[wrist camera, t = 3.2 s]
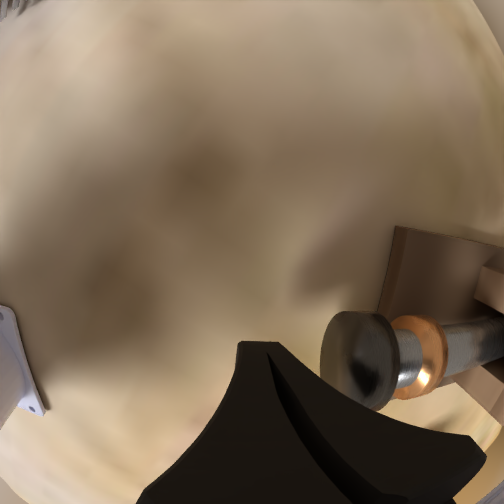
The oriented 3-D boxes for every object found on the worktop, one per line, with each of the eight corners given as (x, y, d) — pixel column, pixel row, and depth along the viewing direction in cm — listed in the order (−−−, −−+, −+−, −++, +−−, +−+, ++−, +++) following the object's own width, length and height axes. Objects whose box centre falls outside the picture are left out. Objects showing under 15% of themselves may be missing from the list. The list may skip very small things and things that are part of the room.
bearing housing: (348, 396, 14) (406, 490, 7) (395, 225, 12) (527, 267, 5) (479, 365, 16) (532, 408, 9) (516, 251, 14) (585, 277, 7)
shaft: (313, 375, 12) (345, 438, 8) (333, 295, 11) (384, 345, 7) (472, 350, 13) (509, 379, 9) (492, 295, 12) (535, 317, 9)
